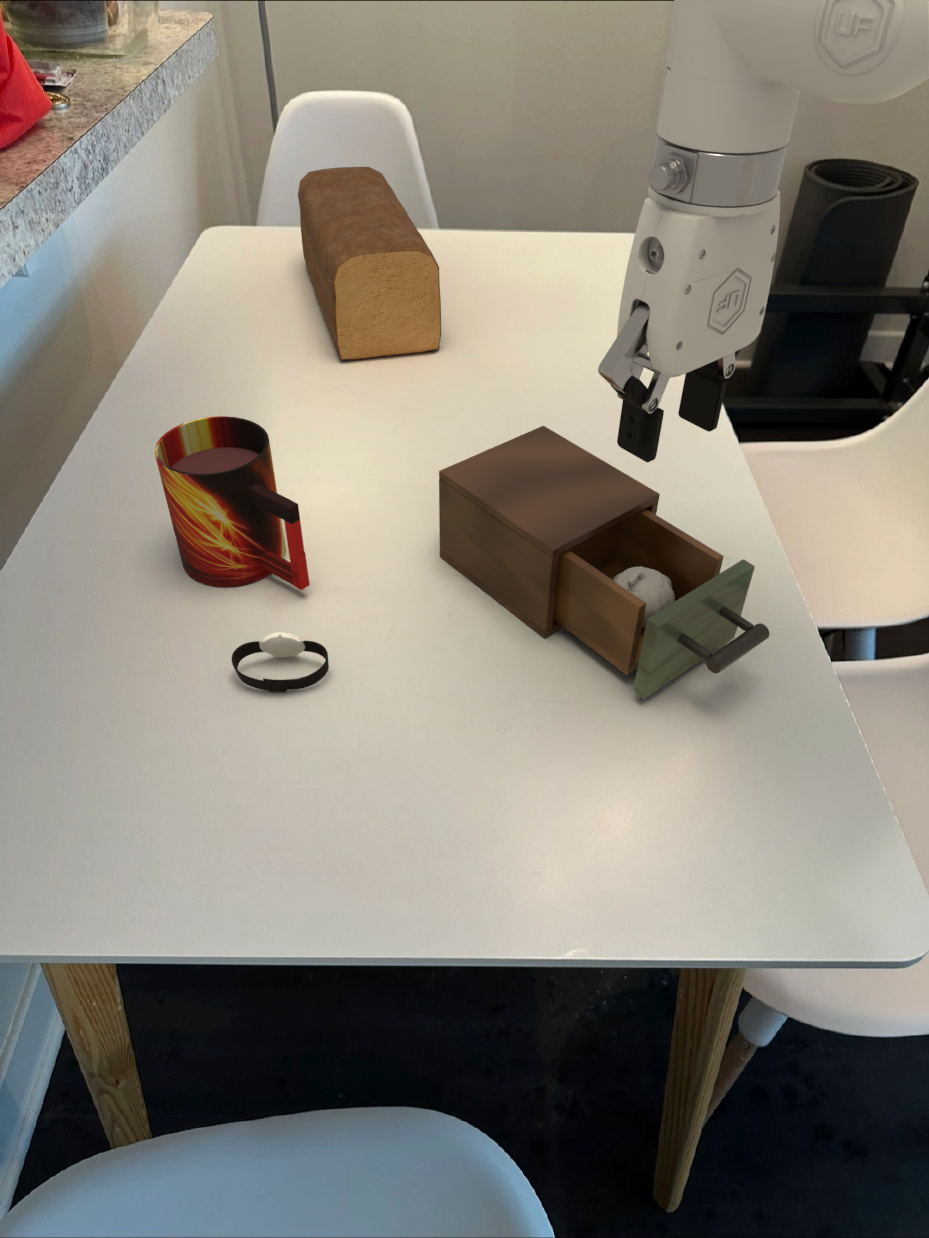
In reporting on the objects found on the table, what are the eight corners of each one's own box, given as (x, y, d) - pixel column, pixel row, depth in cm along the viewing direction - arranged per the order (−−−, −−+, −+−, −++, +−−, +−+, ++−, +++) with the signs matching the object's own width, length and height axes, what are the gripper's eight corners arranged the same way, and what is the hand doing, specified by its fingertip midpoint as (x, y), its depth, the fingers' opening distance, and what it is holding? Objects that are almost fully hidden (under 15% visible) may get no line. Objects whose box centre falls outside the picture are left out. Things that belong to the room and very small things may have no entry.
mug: (307, 601, 82) (292, 489, 74) (164, 579, 84) (133, 467, 76) (341, 537, 89) (330, 428, 81) (207, 518, 91) (184, 410, 83)
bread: (337, 365, 115) (326, 251, 106) (302, 265, 140) (291, 165, 130) (444, 353, 118) (443, 241, 109) (392, 257, 142) (387, 158, 133)
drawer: (776, 664, 75) (800, 592, 70) (684, 731, 70) (703, 658, 64) (618, 560, 85) (629, 490, 80) (528, 611, 80) (533, 539, 74)
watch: (332, 654, 77) (328, 622, 74) (328, 695, 73) (323, 663, 71) (239, 655, 76) (233, 623, 74) (231, 697, 73) (223, 664, 70)
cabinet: (644, 580, 84) (660, 493, 78) (544, 639, 78) (553, 550, 72) (536, 508, 93) (543, 425, 86) (439, 556, 87) (438, 470, 80)
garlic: (615, 645, 75) (623, 597, 71) (591, 604, 79) (597, 556, 75) (682, 632, 76) (693, 584, 73) (655, 592, 80) (664, 544, 76)
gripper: (666, 218, 48) (622, 504, 60) (854, 159, 56) (782, 421, 68) (566, 182, 52) (544, 456, 64) (754, 132, 60) (703, 383, 72)
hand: (667, 435), depth 66 cm, fingers open, 5 cm apart
